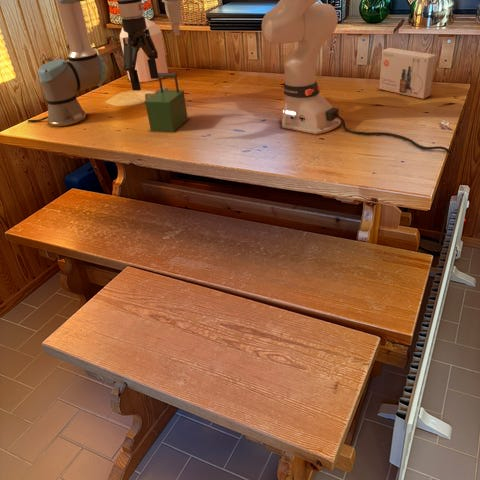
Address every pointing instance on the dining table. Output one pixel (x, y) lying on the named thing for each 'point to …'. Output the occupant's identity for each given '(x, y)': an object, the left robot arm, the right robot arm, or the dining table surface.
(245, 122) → the dining table surface
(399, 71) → the skincare box
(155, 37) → the container
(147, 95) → the rock
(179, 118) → the chest
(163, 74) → the lid
